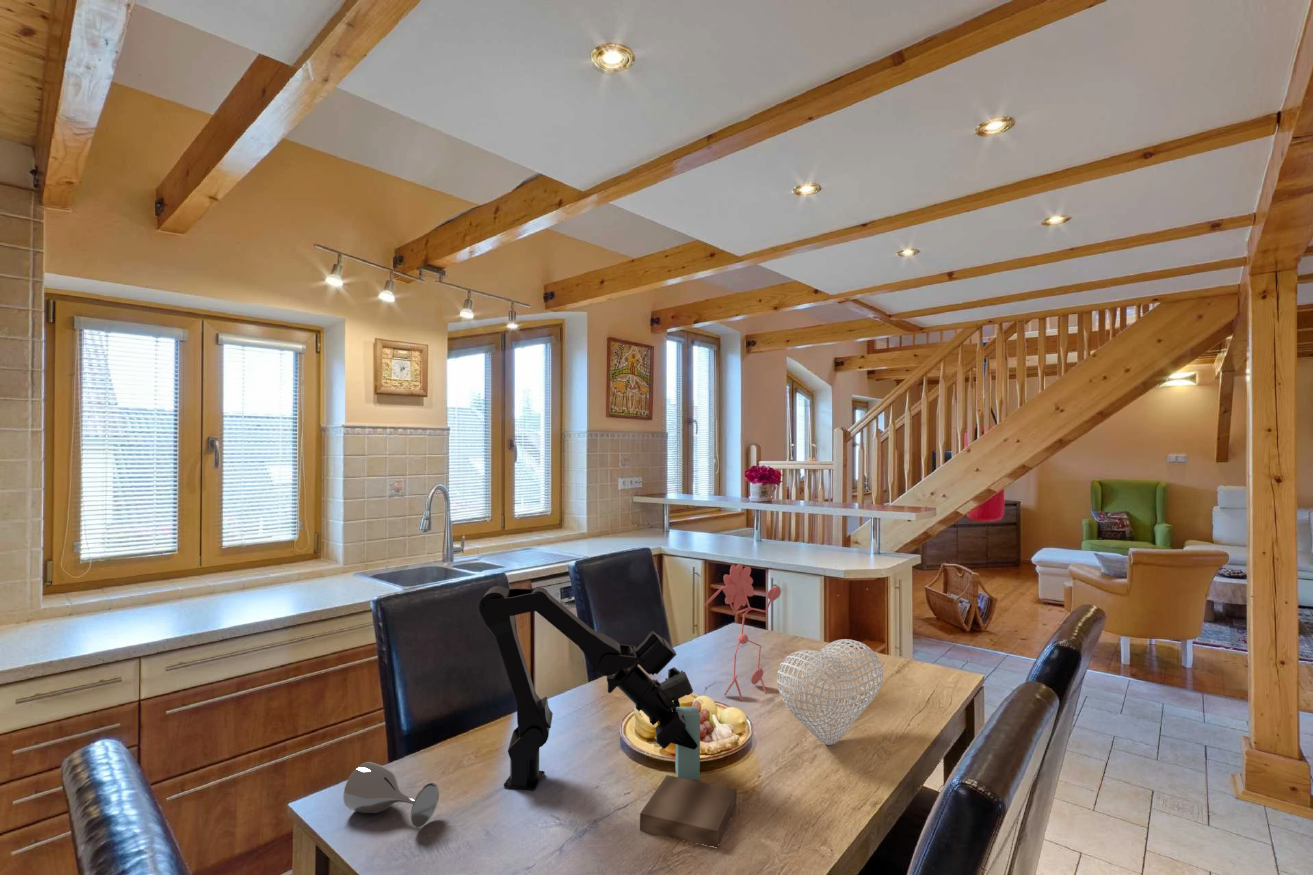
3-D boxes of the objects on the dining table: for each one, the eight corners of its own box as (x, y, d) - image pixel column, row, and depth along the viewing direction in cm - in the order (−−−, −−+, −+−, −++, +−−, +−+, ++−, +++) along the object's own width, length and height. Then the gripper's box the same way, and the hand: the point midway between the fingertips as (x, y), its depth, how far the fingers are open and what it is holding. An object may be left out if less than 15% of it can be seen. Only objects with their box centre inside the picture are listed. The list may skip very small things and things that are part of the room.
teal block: (678, 780, 129) (678, 716, 129) (675, 769, 134) (676, 707, 134) (699, 779, 130) (700, 715, 130) (696, 768, 134) (696, 706, 134)
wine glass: (438, 770, 116) (374, 752, 122) (406, 800, 109) (340, 780, 114) (442, 809, 118) (379, 789, 123) (411, 841, 110) (345, 819, 116)
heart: (840, 717, 160) (840, 628, 161) (895, 740, 148) (896, 644, 148) (762, 748, 144) (763, 648, 144) (817, 777, 131) (818, 668, 131)
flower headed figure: (789, 687, 180) (787, 562, 181) (722, 710, 164) (720, 572, 165) (749, 672, 192) (748, 555, 193) (683, 692, 176) (682, 564, 177)
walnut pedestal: (639, 830, 112) (640, 813, 112) (666, 790, 126) (666, 775, 126) (717, 848, 108) (717, 831, 108) (736, 805, 121) (736, 789, 121)
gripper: (675, 677, 122) (731, 734, 123) (664, 647, 141) (713, 696, 142) (633, 720, 121) (690, 776, 122) (628, 683, 140) (677, 732, 141)
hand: (694, 742), depth 132 cm, fingers closed on teal block, 4 cm apart
